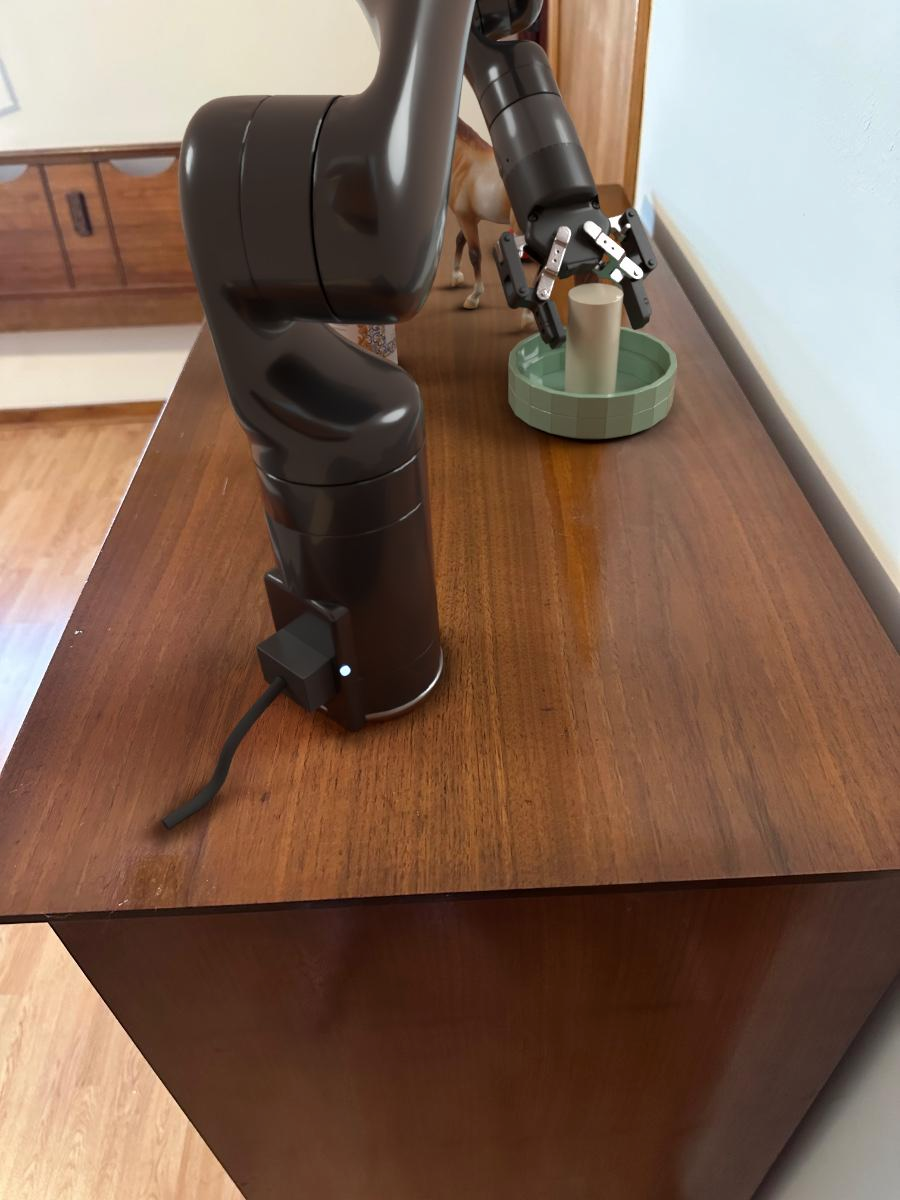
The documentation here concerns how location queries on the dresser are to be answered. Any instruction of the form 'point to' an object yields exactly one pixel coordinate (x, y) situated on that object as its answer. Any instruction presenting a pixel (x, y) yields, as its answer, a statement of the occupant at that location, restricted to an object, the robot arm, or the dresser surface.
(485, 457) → the dresser surface
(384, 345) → the bath foam
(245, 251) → the robot arm
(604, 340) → the beige cylinder
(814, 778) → the dresser surface
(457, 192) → the horse figurine
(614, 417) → the bowl
